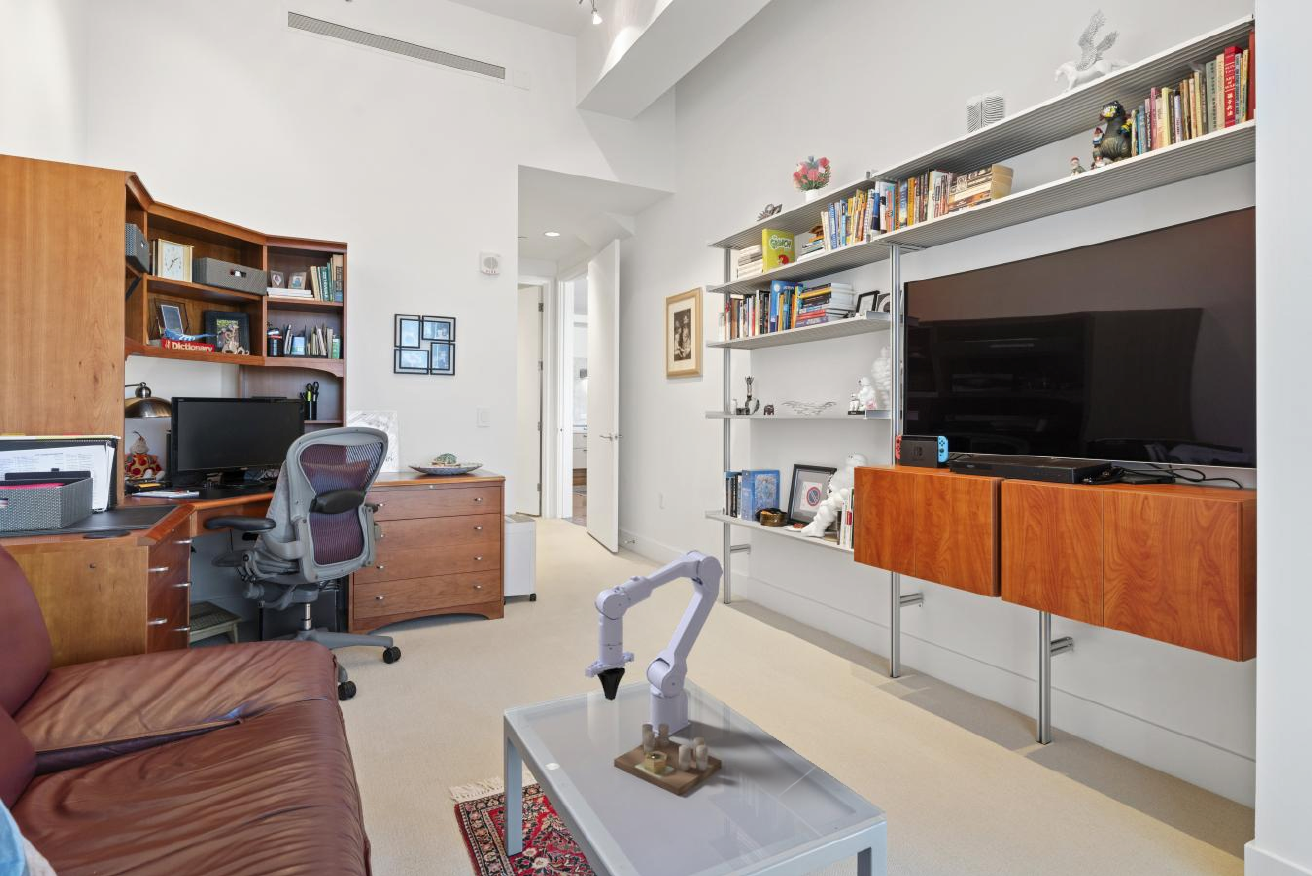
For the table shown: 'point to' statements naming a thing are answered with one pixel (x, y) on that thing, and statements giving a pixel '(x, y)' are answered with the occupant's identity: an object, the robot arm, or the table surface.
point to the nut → (655, 762)
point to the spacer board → (670, 761)
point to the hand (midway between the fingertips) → (610, 698)
